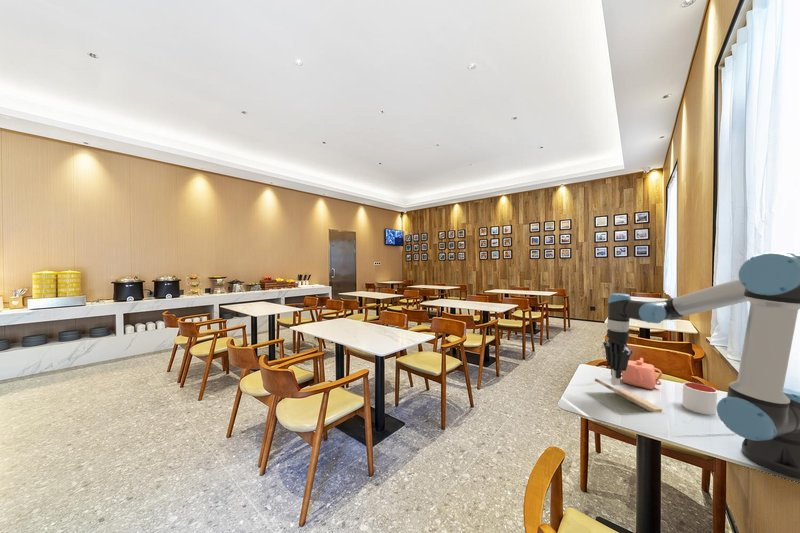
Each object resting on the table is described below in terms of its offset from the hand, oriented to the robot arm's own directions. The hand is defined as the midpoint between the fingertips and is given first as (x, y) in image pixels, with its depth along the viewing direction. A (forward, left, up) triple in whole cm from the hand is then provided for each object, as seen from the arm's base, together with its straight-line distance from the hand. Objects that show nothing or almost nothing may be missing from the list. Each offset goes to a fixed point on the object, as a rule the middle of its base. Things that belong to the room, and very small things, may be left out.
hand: (615, 384), depth 130 cm
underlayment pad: (0, -4, -9) cm, 9 cm away
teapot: (+17, -27, -9) cm, 33 cm away
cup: (-7, -31, -9) cm, 33 cm away
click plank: (0, -3, -5) cm, 5 cm away
